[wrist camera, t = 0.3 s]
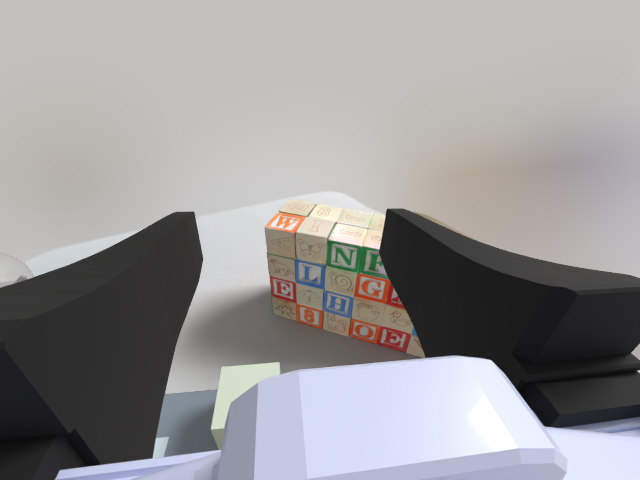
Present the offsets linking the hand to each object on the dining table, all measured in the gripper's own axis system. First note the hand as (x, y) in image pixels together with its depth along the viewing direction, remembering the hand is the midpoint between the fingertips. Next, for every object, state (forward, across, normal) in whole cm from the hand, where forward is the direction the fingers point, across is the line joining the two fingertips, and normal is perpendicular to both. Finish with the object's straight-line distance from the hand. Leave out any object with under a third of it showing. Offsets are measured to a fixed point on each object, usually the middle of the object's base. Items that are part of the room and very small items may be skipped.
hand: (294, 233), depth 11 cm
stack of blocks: (+13, -9, +20) cm, 26 cm away
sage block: (+4, +3, +20) cm, 20 cm away
